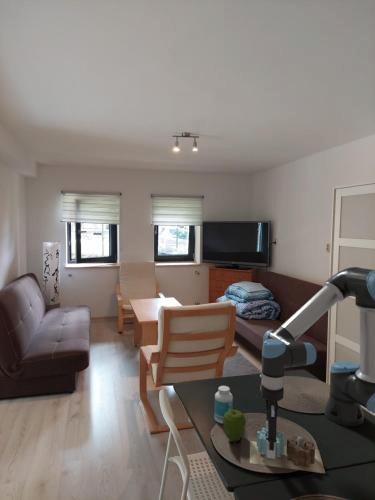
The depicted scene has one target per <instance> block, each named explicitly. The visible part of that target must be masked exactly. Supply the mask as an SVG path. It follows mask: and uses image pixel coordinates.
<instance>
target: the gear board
mask: <svg viewBox="0 0 375 500" xmlns="http://www.w3.org/2000/svg"><path fill="white" fill-rule="evenodd" d="M267 437H268V434H267ZM296 437H297V446H299V447H304V445H305V438H304V437H305V436H301V435H300V436H296ZM286 451H287V444H286V445H285V444H284V453H280V457H276V456H275V459H272V458H267V457H266V454H264V453H262V452H261V453H259V452H258V447H257V441H256V440H255V441H254V440H250V441H249V464H255V465H260V466H261V465H262V466H268V467H275V468H284V469H289V470H290V469H291V470H299V471H304V472H312V473H318V474H319V473H320V474H326V471H325V468H324V467H325V466H324V463H323V461H322V458H321V457H322V456H321V454H320V450H319V449H318V448H317V449H316V448H315V462H314V464H312V463H310V464H309V467H305V465H299V466H296V465H295V462H293V461H292V460H290V461H289V460H288V459H287V454H286Z"/></svg>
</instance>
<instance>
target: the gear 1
mask: <svg viewBox="0 0 375 500" xmlns="http://www.w3.org/2000/svg"><path fill="white" fill-rule="evenodd" d="M267 434H268V429H266V427H261V431H260V430H257V432H256V442H257V447H258V452H259V453H261V452H262V453H264V454H266V457H267V440H266V438H268V437H267ZM276 440H277V441H276V451H275V456H276V457H280V453H284V445H285V437H284V435H283V432H282V431H277V430H276Z"/></svg>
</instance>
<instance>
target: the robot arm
mask: <svg viewBox="0 0 375 500" xmlns="http://www.w3.org/2000/svg"><path fill="white" fill-rule="evenodd" d="M350 297H354V298H355V300H354V303H355V304H354V305H355V306H356V307H357V308H358V309H359V363H356V362H353V361H345V360H343V361H341V360H340V361H335V362H332V364H331V365H330V366H331V367H330V371H329V374H330V375H329V396H328V398H327V401H326V403H325V405H324V415H325V417H326V418H327V419H328V420H329V421H332V422H334V423H335V424H338V425H341V426H346V427H359V426H360V425H362V424H363V423H364V417H365V416H364V412H363V409H362V407H363V408H365V409H366V410H367V411H369V412H371V413H373V414H375V269H371V268H366V267H365V268H363V267H356V266H351V267H348V268H344V269H342V270H340V271H337V273H335V274H334V275H332V276H331V277H329V278H328V279H327V280H326V281H325V282H324V283H323V284H322V288H321V289H319V291H317V292H316V293H315V294H314V295H313V296H312V297H311V298H310V299H309V300H307V302H306V303H305V304H303V305H302V306H301V307H300V308H299V309H298V310H297V311H295V312H294V313H293V314H292V315H291V316H290V317H289V318H288V319H287V320H286V321H285V322H283V323H282V324H281V325H280V326H279V327H278V328H276V330H275V329H269V330H267V331H266V332H265V333H264V334H263V337H262V348H261V349H262V351H261V374H259V378H261V386H260V395H261V397H262V398H263V399H264V400H265V409H266V413H265V415H266V418H265V419H266V421H265V428H266V429H268V438H266V440H267V458H272V459H275V451H276V441H277V440H276V431H277V423H278V422H277V421H278V420H277V418H278V410H279V403H278V402H279V401H282V400H283V399H284V393H285V391H284V387H285V369H286V368H287V369H288V368H296V367H303V366H304V367H306V366H309V365H313V364H314V363H315V362H316V360H317V350H316V348H315V347H314V345H313V344H312V343H311V342H298V341H297V340H298V339H299V338H300V337H301V336H302V335H304V334H305V332H307V330H308V329H309V328H311V327H312V326H313V325H314V324H315V323H316V322H317V321H318V320H319V319H320V318H321V317H322V316H324V315H325V314H326V313H327V312H328V311H329V310H330V309H331V308H332V307H333V306H335V304H336V303H338V302H343V300H346V298H350Z"/></svg>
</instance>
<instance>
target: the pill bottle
mask: <svg viewBox="0 0 375 500" xmlns="http://www.w3.org/2000/svg"><path fill="white" fill-rule="evenodd" d="M230 389H231V388H230V387H229V386H226V385H220V386H219V387H218V388H217V390H218V391H217V392H215V394H214V420H215V422H217V423H218V424H222V425H223V417H224V414H225V413H226V412H227V411H229V410H234V409H233V406H234V405H233V404H234V403H233V400H234V397H233V394H232V393H231V391H230Z"/></svg>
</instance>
